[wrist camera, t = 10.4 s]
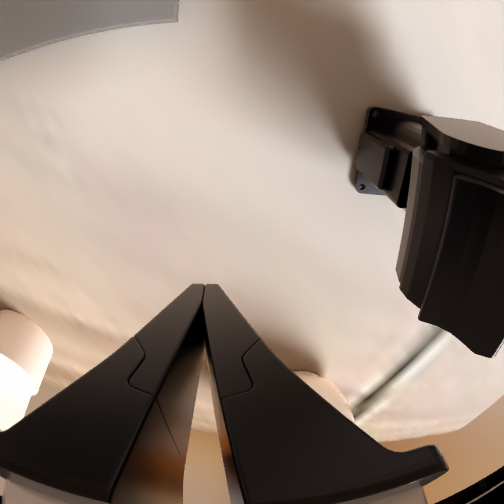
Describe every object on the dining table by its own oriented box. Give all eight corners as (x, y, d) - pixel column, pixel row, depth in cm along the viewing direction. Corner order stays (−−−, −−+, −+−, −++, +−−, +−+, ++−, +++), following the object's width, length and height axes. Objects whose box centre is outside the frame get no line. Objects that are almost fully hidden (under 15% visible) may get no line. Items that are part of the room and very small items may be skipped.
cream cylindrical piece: (-15, 307, 27) (-56, 381, 17) (34, 311, 27) (-8, 400, 17) (15, 354, 32) (-13, 424, 22) (63, 362, 32) (38, 443, 22)
